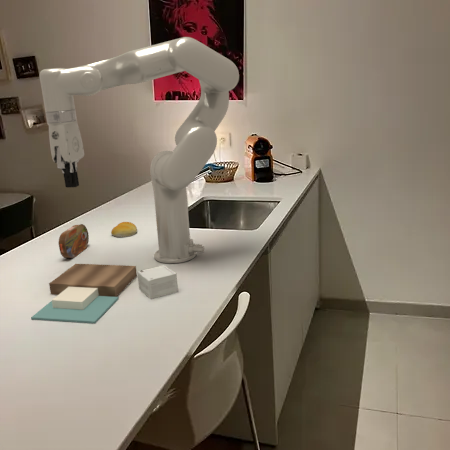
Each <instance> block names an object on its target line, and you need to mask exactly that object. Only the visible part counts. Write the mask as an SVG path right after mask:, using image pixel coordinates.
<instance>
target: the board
mask: <svg viewBox="0 0 450 450" xmlns="http://www.w3.org/2000/svg"><path fill="white" fill-rule="evenodd" d="M137 277H138V272H137V265H125V264H124V265H122V264H119V265H118V264H97V263H94V264H93V263H92V264H91V263H75V264H74V265H72V266H71V267H69V268H68V269H66V270H65V271H63V273H61V274H60V275H58V276H57V277H56V278H54V279H53V280H52V281H50V282H49V283H48V286H49V291H50V292H49V293H50V295H56V296H58V295H59V294H60V293H61V292H63V291H64V290H65V289H66V288H68V287H86V288H98V294H99V296H110V297H119V295H120V294H121V293H122V292H123V291H124V290H125V289H126V288H127V287H128V286H129V285H130V284H131V282H132V281H134V280H135V279H136V278H137Z"/></svg>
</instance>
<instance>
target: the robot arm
mask: <svg viewBox="0 0 450 450" xmlns="http://www.w3.org/2000/svg"><path fill="white" fill-rule="evenodd" d="M182 72H186V73H188V74H190V75H191V76H193V77H194V78H196V79H198V81H199V85H200V97H199V100H198V102H197V103H196V105H195V106H194V108H193V110H192V111H191V112H190V113H189V114H188V116H187V117H186V119H185V120H184V121H183V122H182V123H181V125H180V126H179V128H178V129H176V130H177V131H176V133H175V134H174V135H175V136H174V143H175V145H176V146H175V147H174V148H173V150H172V151H171V150H164V151H160V152H158V153H157V154H155V155H154V157H153V158H152V159H151V162H150V168H149V171H150V172H149V173H150V179H151V180H150V181H151V183H152V190H153V196H154V197H153V198H154V210H155V221H156V231H157V241H158V250H156V251H155V252H154V254H153V256H154V260H155V261H157V262H159V263H163V264H178V263H185V262H188V261H190V260H193V259H194V258H195V257H196V256H197V253H199V254H204V253H205V246H203V244H201V243H198V244H197V243H196V244H195V243H194V239H193V238H191V235H190V233H191V232H190V221H189V207H188V205H189V203H188V195H187V194H188V192H187V187H189V186H190V185H191V184H192V182H193V181H194V180H195V179H196V178H197V176H198V175H199V174H200V172H201V171H202V170H203V168H204V167H206V165H207V163H208V162H209V161H210V159H211V158H212V157H213V155H214V153H215V151H216V148H217V144H218V137H217V134H216V130H217V129H218V127H219V126H220V125H221V122H222V121H223V120H224V119H225V117H226V115H227V112H228V110H229V104H230V93H229V92H230V91H232V90H234V89H235V87H236V86H237V85H238V83H239V81H240V74H239V73H240V72H239V69H238V67H237V66H236V64H235V63H234V62H233V61H232V60H231V59H229V58H227V57H225V56H224V55H222V54H221V53H219V52H217V51H215V50H214V49H212V48H210V47H209V46H207V45H206V44H204V43H202V42H200V41H198V39H195V38H193V37H191V36H183V37H179V38H175V39H172V40H168V41H164V42H160V43H156V44H151V45H148V46H144V47H141V48H136V49H133V50H129V51H126V52H124V53H122V54H120V55H117V56H114V57H111V58H107V59H104V60H100V61H97V62H93V63H89V64H84V65H79V66H75V67H69V68H65V67H55V68H44V69H42V70H41V71H39V75H38V76H39V82H40V87H41V94H42V100H43V105H44V112H45V119H46V123H47V125H48V136H49V137H48V138H49V145H50V146H49V147H50V154H51V159H52V161H53V162H54V163H55V164H56V165H57V166H56V167H57V169H61V172H62V175H63V178H64V185H65V188H77V187H79V186H80V183H79V175H78V163H79V161H80V160H81V159H83V158H84V156H85V150H84V143H83V139H82V133H81V130H80V126H79V124H78V117H77V112H76V111H77V110H76V105H75V99H74V96H82V97H83V96H84V97H86V96H87V97H89V96H94V95H96V94H98V93H99V92H101V91H105V90H109V89H111V88H115V87H120V86H125V85H136V84H142V83H146V82H149V81H153V80H156V79H160V78H163V77H166V76H171V75H173V74H178V73H182Z"/></svg>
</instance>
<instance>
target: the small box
mask: <svg viewBox="0 0 450 450" xmlns="http://www.w3.org/2000/svg"><path fill="white" fill-rule="evenodd" d="M137 281H138V289H139V290H140V292H141V293H143V294H144V295H145V296H146V297H148V298H149V299H150V300H152V299H157V298H159V297H164V296H167V295H171V294H175V293H178V291H179V290H178V289H179V286H178V275H177V273H176V272H175V271H174V270H172V269H171V268H169V267H167V265H164V264H162V265H159V266H155V267H151V268H147V269H143V270H138V271H137Z"/></svg>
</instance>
